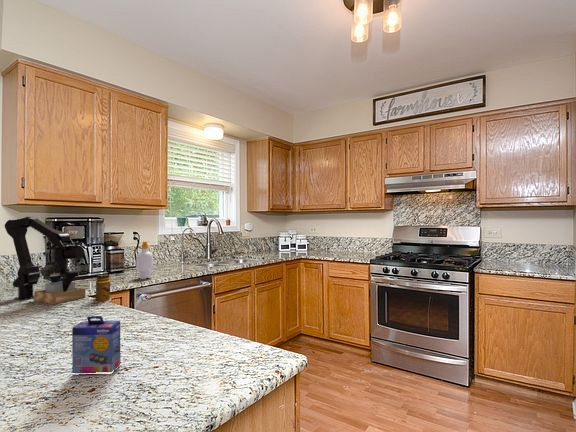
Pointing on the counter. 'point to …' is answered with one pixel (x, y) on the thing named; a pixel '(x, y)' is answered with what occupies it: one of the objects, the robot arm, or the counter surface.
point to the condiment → (102, 289)
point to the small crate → (58, 287)
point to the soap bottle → (144, 262)
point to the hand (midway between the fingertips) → (60, 291)
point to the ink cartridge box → (95, 346)
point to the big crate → (59, 296)
